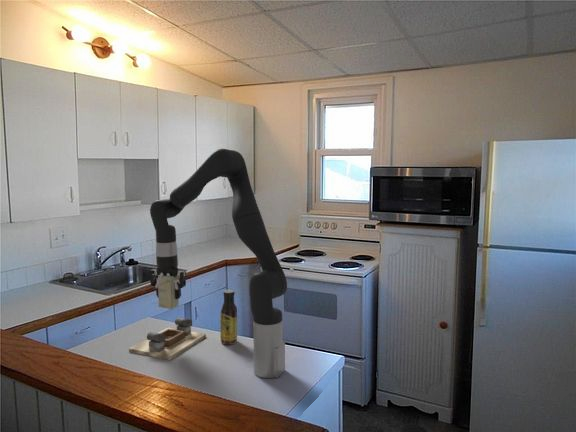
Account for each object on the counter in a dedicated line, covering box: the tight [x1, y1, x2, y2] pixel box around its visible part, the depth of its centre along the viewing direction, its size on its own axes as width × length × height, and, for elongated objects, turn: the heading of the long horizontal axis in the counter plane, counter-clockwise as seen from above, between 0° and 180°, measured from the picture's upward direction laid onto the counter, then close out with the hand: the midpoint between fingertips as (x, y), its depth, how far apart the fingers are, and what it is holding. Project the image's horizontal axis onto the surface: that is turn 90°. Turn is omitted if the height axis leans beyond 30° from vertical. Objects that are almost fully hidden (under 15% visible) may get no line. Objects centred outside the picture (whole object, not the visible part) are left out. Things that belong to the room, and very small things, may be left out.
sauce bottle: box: [219, 289, 238, 346], centre depth 168 cm, size 6×6×20 cm
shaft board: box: [128, 317, 207, 361], centre depth 167 cm, size 18×22×7 cm
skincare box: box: [157, 274, 180, 310], centre depth 166 cm, size 6×4×12 cm
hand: (168, 297), depth 166 cm, fingers closed on skincare box, 6 cm apart
